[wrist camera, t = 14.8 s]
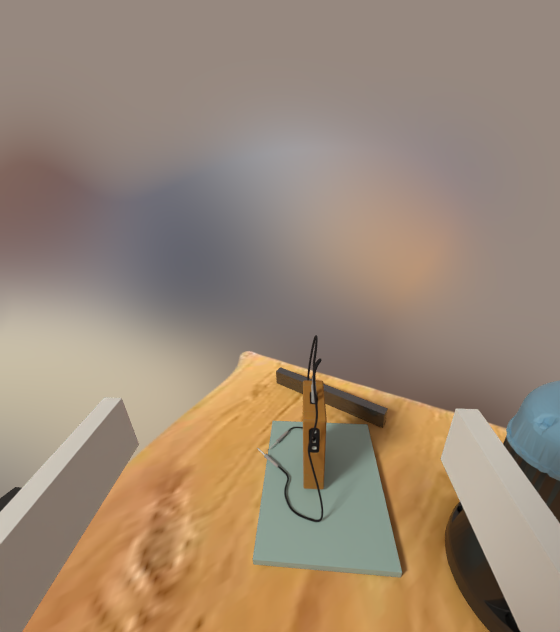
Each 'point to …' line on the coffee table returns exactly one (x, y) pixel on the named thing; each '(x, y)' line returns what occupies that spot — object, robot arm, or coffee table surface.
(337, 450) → the plate
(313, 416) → the corded orange upright block
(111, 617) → the coffee table surface
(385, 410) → the guide rail
